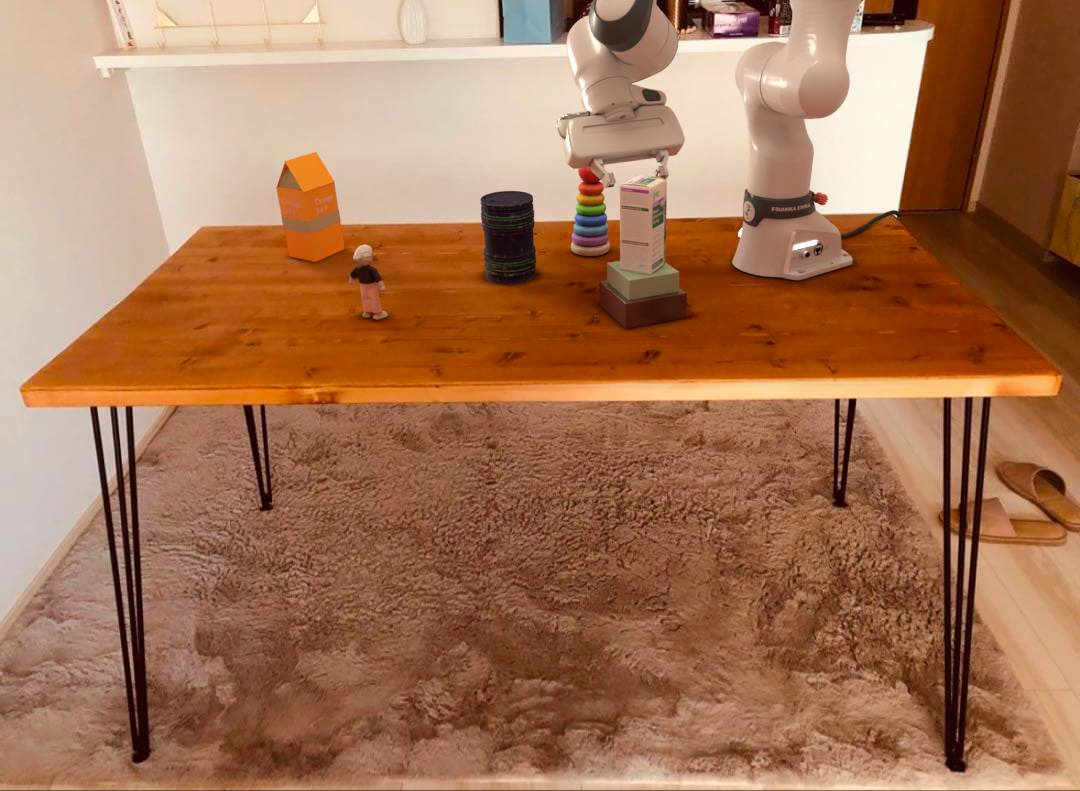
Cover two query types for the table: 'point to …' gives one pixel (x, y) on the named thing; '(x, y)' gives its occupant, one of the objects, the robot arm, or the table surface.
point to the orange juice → (309, 209)
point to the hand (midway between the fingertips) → (637, 181)
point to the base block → (642, 307)
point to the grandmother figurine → (368, 283)
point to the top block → (643, 281)
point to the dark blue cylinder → (508, 237)
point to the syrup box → (643, 224)
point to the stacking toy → (590, 217)
